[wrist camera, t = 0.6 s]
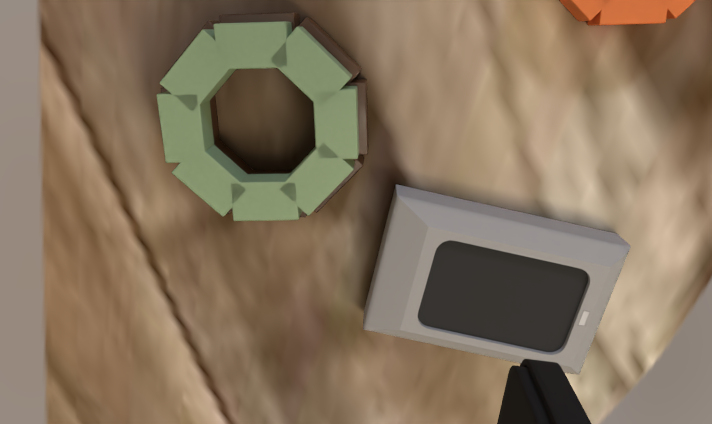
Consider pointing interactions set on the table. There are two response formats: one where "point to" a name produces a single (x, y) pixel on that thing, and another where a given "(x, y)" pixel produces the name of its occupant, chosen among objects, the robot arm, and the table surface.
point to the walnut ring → (361, 85)
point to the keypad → (491, 279)
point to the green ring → (195, 133)
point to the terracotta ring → (625, 11)
